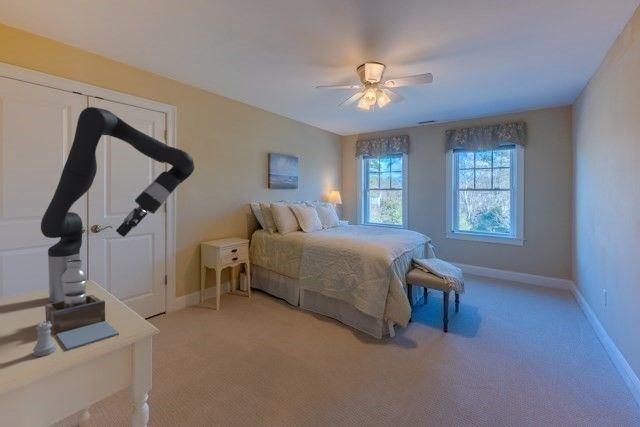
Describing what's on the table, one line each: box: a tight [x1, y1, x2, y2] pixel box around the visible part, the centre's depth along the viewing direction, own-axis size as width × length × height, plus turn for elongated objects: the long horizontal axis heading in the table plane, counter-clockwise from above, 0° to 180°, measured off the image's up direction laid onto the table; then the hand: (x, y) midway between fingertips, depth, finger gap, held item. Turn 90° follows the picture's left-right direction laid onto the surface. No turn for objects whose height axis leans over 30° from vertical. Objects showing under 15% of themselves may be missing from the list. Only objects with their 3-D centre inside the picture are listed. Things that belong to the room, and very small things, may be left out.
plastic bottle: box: [61, 259, 88, 309], centre depth 95 cm, size 6×7×20 cm
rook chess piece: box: [32, 320, 57, 358], centre depth 78 cm, size 4×4×8 cm
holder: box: [44, 294, 106, 336], centre depth 96 cm, size 13×12×7 cm
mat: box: [56, 320, 120, 351], centre depth 88 cm, size 12×12×1 cm
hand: (119, 234), depth 101 cm, fingers open, 8 cm apart
